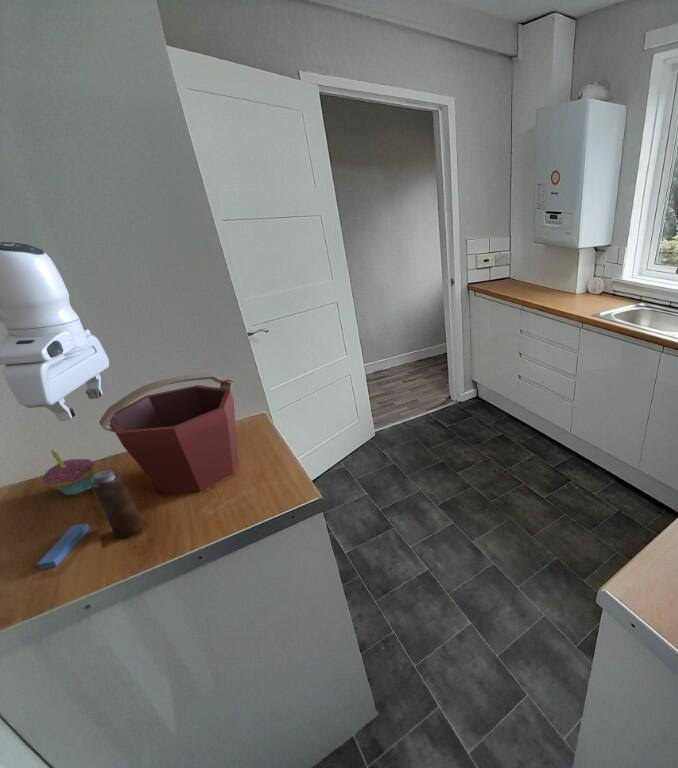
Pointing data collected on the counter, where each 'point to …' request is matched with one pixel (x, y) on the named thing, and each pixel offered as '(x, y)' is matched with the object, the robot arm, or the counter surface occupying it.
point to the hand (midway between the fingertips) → (82, 407)
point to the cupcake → (70, 475)
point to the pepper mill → (117, 503)
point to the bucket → (179, 433)
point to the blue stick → (63, 546)
